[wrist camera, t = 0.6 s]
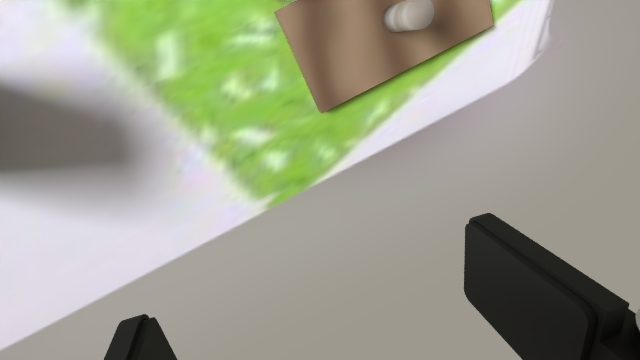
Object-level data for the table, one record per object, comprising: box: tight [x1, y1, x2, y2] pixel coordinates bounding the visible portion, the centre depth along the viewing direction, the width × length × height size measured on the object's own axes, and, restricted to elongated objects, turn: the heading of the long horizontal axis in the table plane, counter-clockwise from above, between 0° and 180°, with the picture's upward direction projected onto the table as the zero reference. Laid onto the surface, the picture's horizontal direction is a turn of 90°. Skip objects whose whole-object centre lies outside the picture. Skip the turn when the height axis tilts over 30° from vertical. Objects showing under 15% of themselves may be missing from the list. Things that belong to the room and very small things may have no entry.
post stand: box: [275, 0, 494, 113], centre depth 29 cm, size 20×10×6 cm, turn 115°
